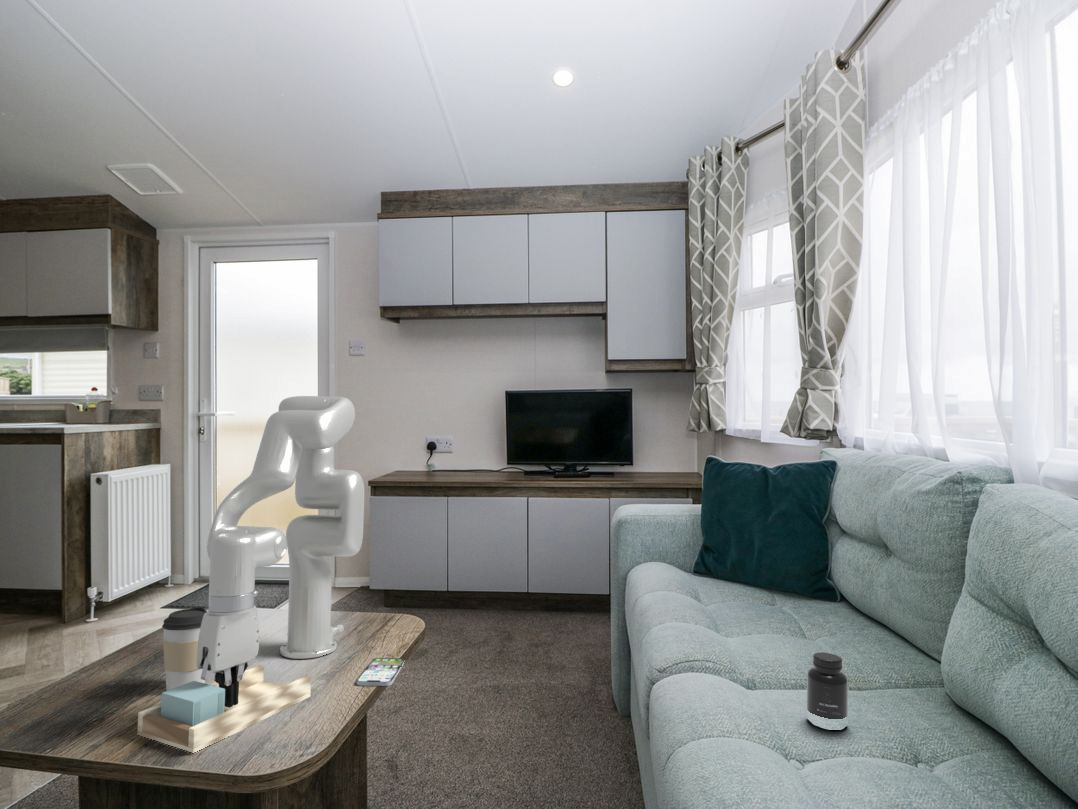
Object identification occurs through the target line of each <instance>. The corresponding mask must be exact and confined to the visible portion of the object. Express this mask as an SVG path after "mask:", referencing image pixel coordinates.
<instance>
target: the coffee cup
mask: <svg viewBox="0 0 1078 809" xmlns="http://www.w3.org/2000/svg"><path fill="white" fill-rule="evenodd" d="M207 612H208V610H206V608H205V607H203V606H194V607H191V608H185V609H180V610H179V609H178V610H175V611H173V612H170V613H169V615H168V617H166V618H164V620H163V624H162V626H161V627H162V629H163V639H162V644H163V646H162V647H163V659H164V660H163V662H164V663H163V664H164V665H163V666H164V667H163V668H164V670H165V690H166V691H167V690H171V689H173V688H176V687H179V686H181V685H184V684H187V683H189V682H192V681H197V682H201V683H205V684H206V680H202V679H201V673H202V669H199V668H197V664H196V660H197V647H198V639H199V632H200V627H201V623H202V619H203V616H204V614H205V613H207Z"/></svg>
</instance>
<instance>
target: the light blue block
mask: <svg viewBox="0 0 1078 809" xmlns="http://www.w3.org/2000/svg"><path fill="white" fill-rule="evenodd" d="M160 704H161V717H163V718H166V719H169V720H172V721H176V722H179V723H182V724H185V725H189V726H192V727H193V726H195V725H197V724H200V723H202V722H204V721H206V720H209V719H211V718H213V717H215V716H217V715H220V714H222V713H224V707H225V689H224V688H220V687H216V686H212V685H210V684H209V683H206V682H205V683H201V682H197V681H192V682H189V683H187V684H184V685H181V686H179V687H176V688H173V689H171V690H168V691H167V690H166V691H163V692H161V703H160Z"/></svg>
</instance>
